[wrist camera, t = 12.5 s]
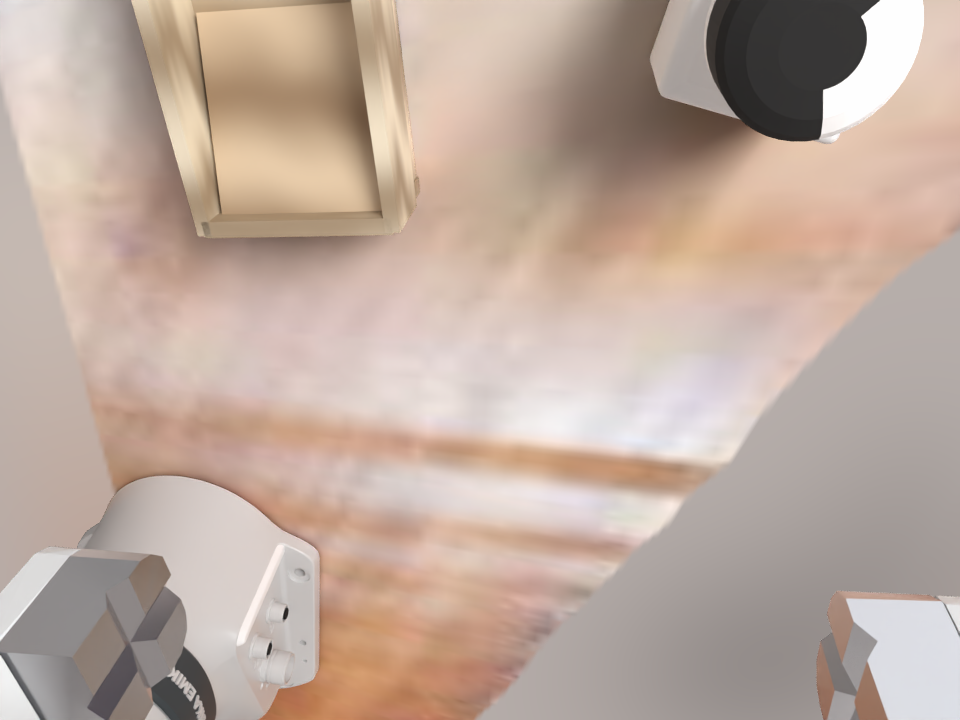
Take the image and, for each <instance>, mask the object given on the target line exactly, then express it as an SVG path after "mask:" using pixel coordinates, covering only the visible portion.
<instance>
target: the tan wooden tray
mask: <svg viewBox="0 0 960 720" xmlns="http://www.w3.org/2000/svg"><path fill="white" fill-rule="evenodd" d="M131 1H132V5H133V8H134V12H135V16H136V19H137V23H138V26H139V30H140V33H141V37H142V40H143V44H144V47H145V51H146V54H147V58H148V61H149V65H150V68H151V72H152V76H153V79H154V83H155V86H156V90H157V93H158V97H159V100H160V104H161V107H162V111H163V114H164V118H165V121H166V125H167V128H168V132H169V136H170V139H171V143H172V146H173V150H174V153H175V157H176V160H177V164H178V167H179V171H180V174H181V178H182V181H183V185H184V188H185V192H186V196H187V199H188V203H189V206H190V210H191V213H192V217H193V220H194V224H195V227H196V231H197V234H198V236H205V238H253V237H309V236H366V235H393V234H394V233H400V232H401V231H402V229H403V227H404V226H405V224H406V222H407V221H408V219H409V217H410V216H411V214H412V213H413V211H414V209H415V208H416V206H417V203H416V197H417V196H418V194H419V193H420V187H419V178H418V177H416V169H415V161H414V152H413V144H412V136H411V127H410V119H409V110H408V102H407V94H406V85H405V77H404V69H403V60H402V52H401V44H400V35H399V27H398V18H397V10H396V2H395V0H131Z"/></svg>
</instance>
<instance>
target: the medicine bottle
mask: <svg viewBox="0 0 960 720" xmlns="http://www.w3.org/2000/svg"><path fill="white" fill-rule="evenodd" d="M923 24H924V8H923V1H922V0H670V1H669V4H668V6H667V9H666V12H665V15H664V18H663V21H662V24H661V27H660V29H659V32H658V35H657V38H656V41H655V44H654V47H653V50H652V52H651V55H650V62H651V66H652V69H653V73H654V76H655V80H656V83H657V87H658V90H659V92H660V95H661V96H663V97H665V98H668V99H671V100H675V101H678V102H682V103H685V104H688V105H692V106H695V107H699V108H702V109H706V110H709V111H713V112H716V113H720V114H723V115H727V116H730V117H733V118H737V119H740V120H742V121H743V122H744V123H745V124H746V125H748V126H749V127H751V128H752V129H754V130H755V131H757V132H759V133H761V134H763V135H766V136H768V137H772V138H775V139H779V140H786V141H812V140H813V141H817V142H820V143H824V144H831V143H833V142H835V141H836V140H837V138H838V137H839V135H840V133H841V132H844V131H846V130H848V129H850V128H852V127H854V126H856V125H858V124H860V123H861V122H862V121H864V120H865V119H867V118H868V117H870V116H871V115H872V114H874V113H875V112H876V111H877V110H878V109H879V108H881V107H882V106H883V105H884V104H885V103H886V102H887V101H888V100H889V98H890V97H891V96H892V95H893V94H894V93H895V92H896V90H897V89H898V88H899V86H900V85H901V83H902V82H903V81H904V79H905V77H906V75H907V74H908V72H909V70H910V68H911V67H912V64H913V62H914V59H915V57H916V55H917V52H918V49H919V45H920V41H921V38H922V31H923Z"/></svg>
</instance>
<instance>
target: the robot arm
mask: <svg viewBox="0 0 960 720" xmlns="http://www.w3.org/2000/svg"><path fill="white" fill-rule="evenodd" d="M319 607H320V556H319V553H318V551H317V550H316V549H315V548H314V547H313V546H312V545H310V544H309V543H307V542H305V541H303V540H301V539H300V538H297V537H295V536H293V535H291V534H289V533H287V532H285V531H283V530H281V529H280V528H279V527H277V526H276V525H275V524H274V523H272V522H271V521H270V520H269V519H268V518H267V517H266V516H265V515H264V514H262V513H261V512H260V511H259V510H258V509H257V508H255V507H254V506H253V505H251V504H250V503H248V502H247V501H245V500H244V499H242V498H241V497H239V496H237V495H236V494H234V493H232V492H230V491H228V490H226V489H223V488H221V487H219V486H216V485H214V484H211V483H208V482H205V481H201V480H197V479H193V478H188V477H181V476H153V477H147V478H143V479H139V480H136V481H134V482H131V483H129V484H128V485H126V486H124V487H123V488H121V489H120V490H119V491H118V492H117V493H116V494H115V495H114V496H113V498H112V499H111V501H110V503H109V505H108V507H107V509H106V511H105V514H104V516H103V518H102V520H101V521H100V523H98V524H96V525H95V526H93V527H92V528H90V529H89V530H88V531H87V532H86V533H85V534H84V535H83V537H82V539H81V540H80V542H79V543H78V546H77V549H76V548H64V547H50V546H49V547H47V548H45V549H43V550H41V551H39V552H37V553H35V554H34V555H33V556H32V557H31V559H30V560H29V561H28V562H27V563H26V564H25V565H24V567H23V568H22V569H21V570H20V571H19V572H18V573H17V575H16V576H15V577H14V578H13V579H12V580H11V581H10V582H9V584H8V585H7V586H6V587H5V588H4V590H3V591H2V592H1V593H0V720H258V719H260V718H261V717H263V716H264V715H265V714H266V713H267V711H268V710H269V708H270V707H271V705H272V703H273V701H274V699H275V696H276V694H277V692H278V690H279V689H280V688H289V687H294V686H299V685H302V684H305V683H307V682H310V681H312V680H313V679H314V678H315V676H316V674H317V672H318V669H319ZM827 615H828V619H829V622H830V625H831V629H832V633H831V634H829V635H828V636H827V637H825V638H824V639H822V640H821V641H820V647H819V651H818V656H817V690H818V696H819V702H820V707H821V711H822V715H823V719H824V720H960V597H952V596H951V597H950V596H933V597H932V596H930V595H919V594H895V593H873V592H872V593H871V592H851V591H850V592H849V591H836V593H835V594H834V595H833V597H832V598H831V601H830V605H829V608H828V612H827Z"/></svg>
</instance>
